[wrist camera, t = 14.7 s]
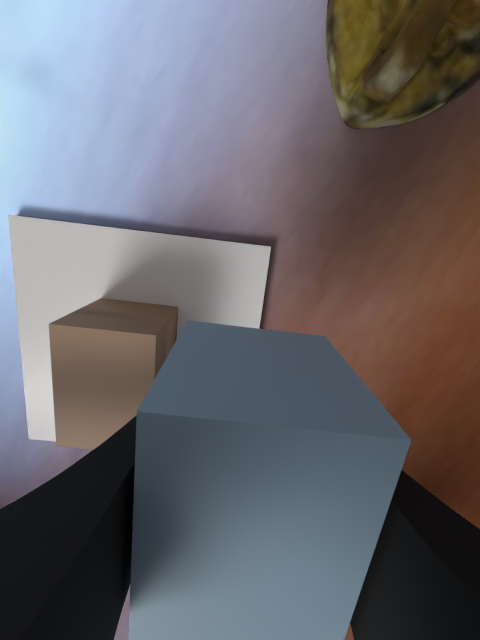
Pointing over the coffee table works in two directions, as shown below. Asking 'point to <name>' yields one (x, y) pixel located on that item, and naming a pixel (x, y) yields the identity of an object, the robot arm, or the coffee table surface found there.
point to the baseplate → (121, 286)
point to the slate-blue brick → (256, 488)
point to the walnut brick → (106, 366)
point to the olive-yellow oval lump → (400, 57)
